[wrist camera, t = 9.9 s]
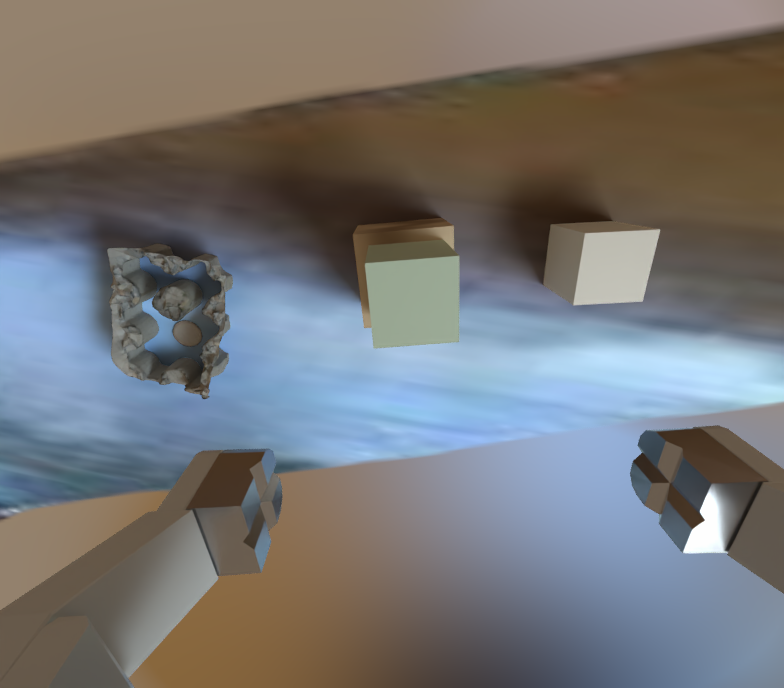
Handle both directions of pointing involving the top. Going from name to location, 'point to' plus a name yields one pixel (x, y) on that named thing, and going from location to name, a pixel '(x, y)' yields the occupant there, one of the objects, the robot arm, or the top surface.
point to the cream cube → (599, 261)
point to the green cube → (413, 293)
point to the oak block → (390, 235)
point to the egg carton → (172, 303)
